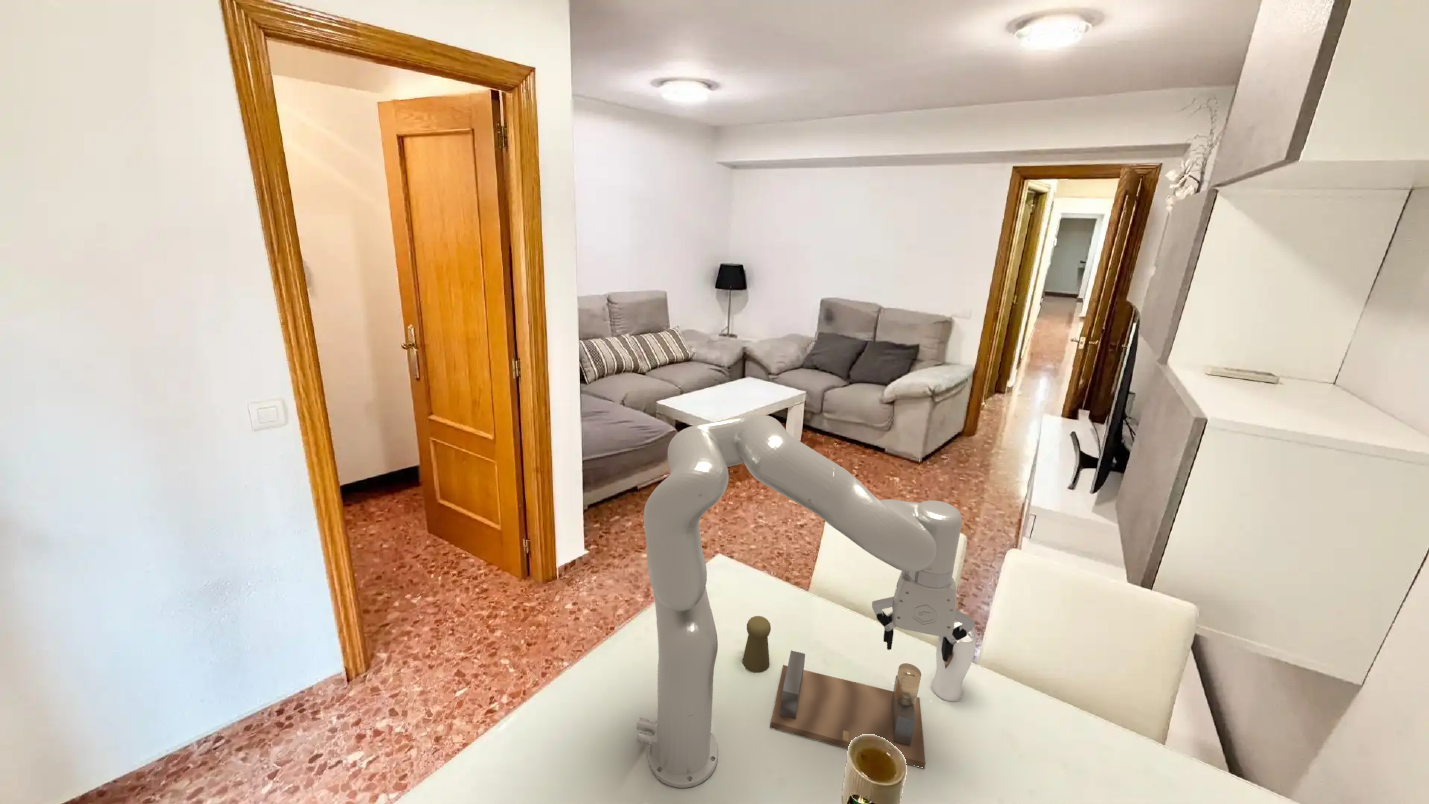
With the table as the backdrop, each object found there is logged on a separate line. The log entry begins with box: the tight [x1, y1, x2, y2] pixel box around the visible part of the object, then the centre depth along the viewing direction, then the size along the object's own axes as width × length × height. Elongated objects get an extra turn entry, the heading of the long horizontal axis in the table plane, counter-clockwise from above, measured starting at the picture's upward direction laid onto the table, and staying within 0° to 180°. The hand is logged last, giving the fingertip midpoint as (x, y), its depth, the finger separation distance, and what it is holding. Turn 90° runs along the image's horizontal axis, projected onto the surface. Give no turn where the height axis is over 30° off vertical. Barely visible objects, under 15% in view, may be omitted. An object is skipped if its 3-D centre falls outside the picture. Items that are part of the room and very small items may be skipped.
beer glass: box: [930, 620, 977, 703], centre depth 114 cm, size 7×7×15 cm
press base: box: [769, 650, 926, 769], centre depth 108 cm, size 28×15×8 cm, turn 74°
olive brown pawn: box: [741, 615, 772, 674], centre depth 120 cm, size 6×6×11 cm
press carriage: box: [892, 662, 922, 746], centre depth 104 cm, size 4×10×12 cm, turn 164°
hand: (916, 650), depth 101 cm, fingers open, 9 cm apart
